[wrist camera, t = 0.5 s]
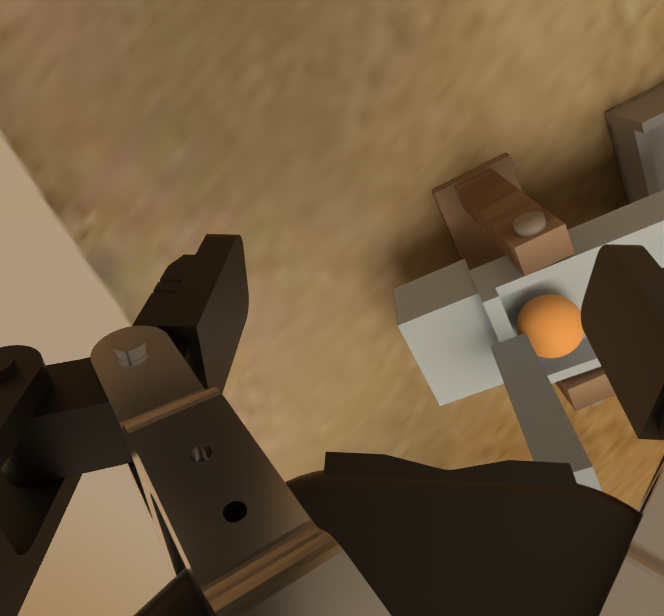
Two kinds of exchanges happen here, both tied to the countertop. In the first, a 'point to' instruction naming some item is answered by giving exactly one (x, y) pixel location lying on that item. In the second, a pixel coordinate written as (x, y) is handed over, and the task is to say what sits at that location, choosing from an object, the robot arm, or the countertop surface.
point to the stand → (512, 242)
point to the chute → (501, 334)
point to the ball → (551, 325)
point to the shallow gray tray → (639, 143)
